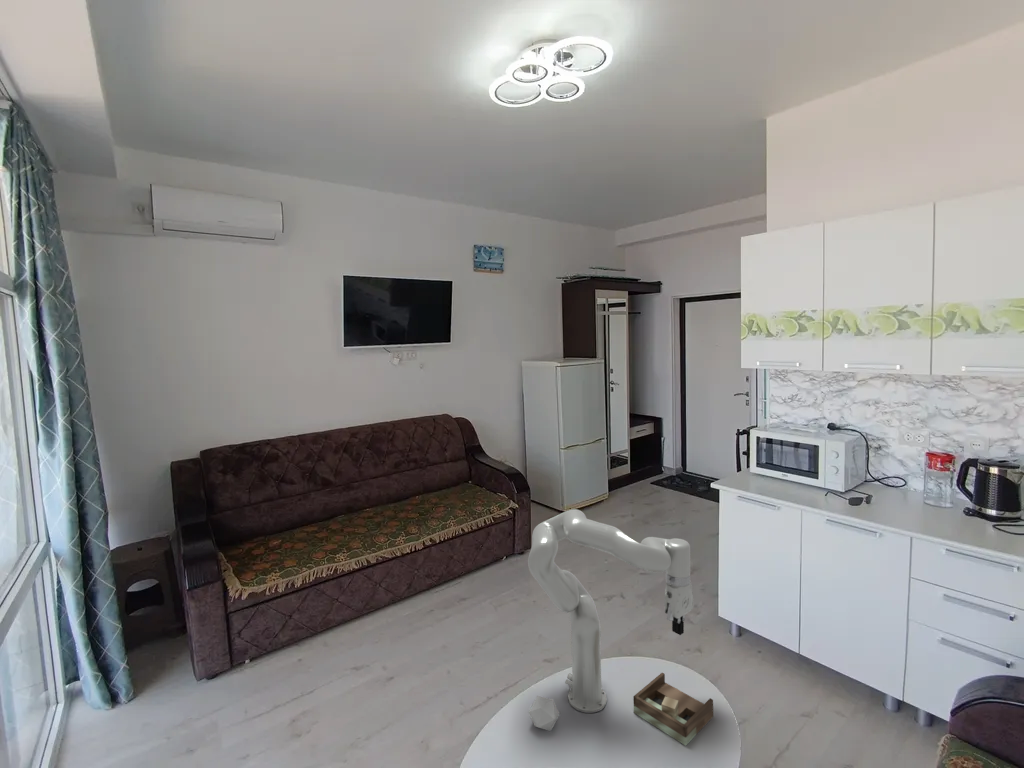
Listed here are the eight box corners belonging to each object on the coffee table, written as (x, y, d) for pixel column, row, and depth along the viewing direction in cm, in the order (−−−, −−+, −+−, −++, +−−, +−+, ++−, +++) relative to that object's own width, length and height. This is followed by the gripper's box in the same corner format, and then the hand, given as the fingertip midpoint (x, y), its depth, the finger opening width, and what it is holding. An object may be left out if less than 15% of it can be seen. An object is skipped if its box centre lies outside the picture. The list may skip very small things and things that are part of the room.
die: (563, 721, 155) (550, 687, 159) (563, 727, 147) (549, 691, 151) (539, 734, 154) (526, 699, 159) (537, 740, 146) (523, 704, 151)
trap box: (633, 712, 157) (633, 696, 156) (662, 687, 167) (662, 672, 167) (685, 745, 143) (685, 728, 143) (713, 716, 154) (713, 699, 153)
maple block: (661, 716, 151) (661, 704, 151) (665, 708, 155) (665, 696, 154) (675, 721, 149) (674, 709, 149) (678, 712, 152) (678, 700, 152)
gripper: (674, 590, 151) (674, 646, 153) (701, 575, 161) (700, 628, 162) (654, 581, 157) (654, 636, 159) (680, 567, 167) (680, 619, 168)
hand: (677, 632), depth 160 cm, fingers closed
